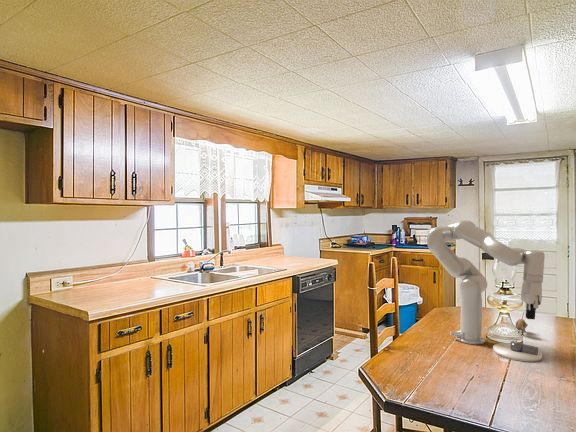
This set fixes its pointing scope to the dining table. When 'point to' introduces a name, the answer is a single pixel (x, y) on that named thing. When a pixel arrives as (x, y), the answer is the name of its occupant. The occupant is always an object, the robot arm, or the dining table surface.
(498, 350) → the plate
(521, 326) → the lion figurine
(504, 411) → the dining table surface
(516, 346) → the dark gray block
